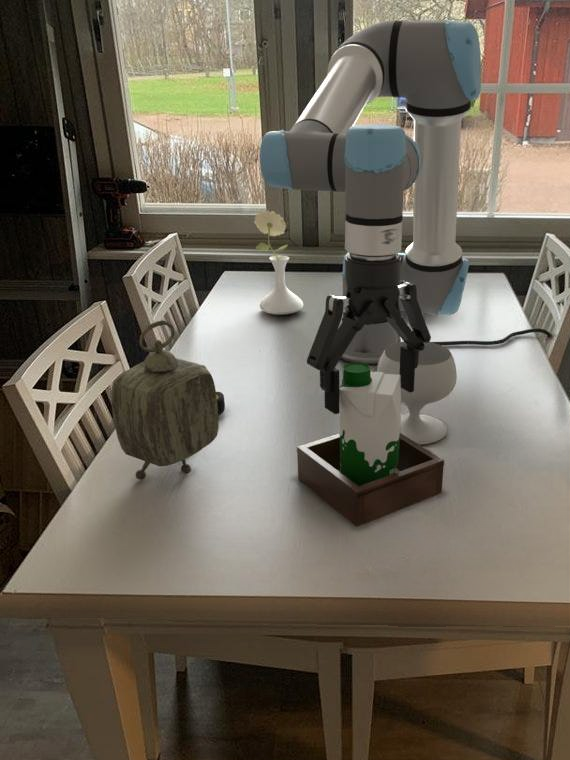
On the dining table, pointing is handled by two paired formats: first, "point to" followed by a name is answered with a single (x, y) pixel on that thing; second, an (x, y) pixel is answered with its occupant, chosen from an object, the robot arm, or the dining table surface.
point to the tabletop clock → (164, 407)
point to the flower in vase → (276, 267)
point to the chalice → (423, 388)
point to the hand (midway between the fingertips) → (370, 399)
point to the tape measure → (220, 402)
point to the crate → (376, 497)
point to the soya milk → (369, 423)
